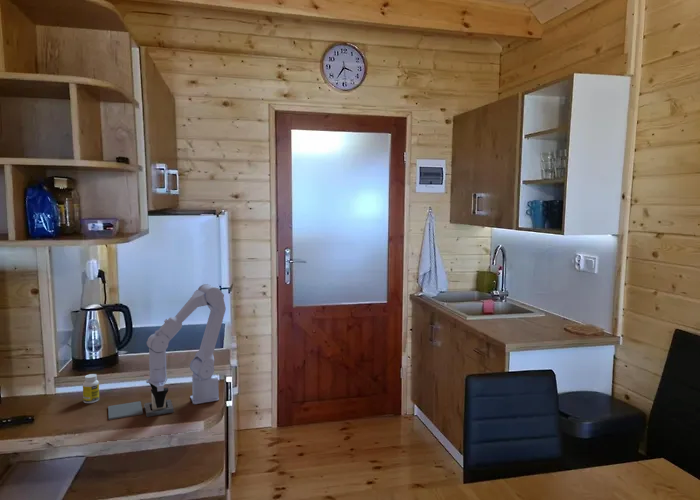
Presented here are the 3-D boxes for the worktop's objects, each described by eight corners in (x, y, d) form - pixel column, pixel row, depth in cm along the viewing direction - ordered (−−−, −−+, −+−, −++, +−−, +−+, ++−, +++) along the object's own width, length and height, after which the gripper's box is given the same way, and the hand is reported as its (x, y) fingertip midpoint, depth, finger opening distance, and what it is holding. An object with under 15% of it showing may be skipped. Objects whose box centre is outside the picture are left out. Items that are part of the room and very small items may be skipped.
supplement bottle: (92, 404, 184) (91, 378, 183) (80, 402, 185) (78, 377, 184) (102, 398, 189) (101, 373, 188) (90, 397, 190) (89, 372, 189)
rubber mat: (140, 402, 186) (140, 401, 186) (143, 414, 176) (142, 412, 176) (108, 407, 181) (108, 406, 181) (108, 419, 171) (108, 418, 171)
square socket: (170, 402, 186) (170, 399, 186) (173, 412, 178) (173, 408, 178) (144, 407, 182) (144, 403, 182) (146, 417, 174) (146, 412, 174)
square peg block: (164, 406, 183) (164, 388, 182) (166, 411, 179) (165, 392, 178) (151, 408, 181) (151, 390, 180) (153, 413, 177) (152, 394, 176)
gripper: (144, 362, 183) (145, 397, 184) (147, 375, 170) (148, 413, 172) (164, 360, 186) (165, 394, 188) (169, 372, 173) (170, 409, 175)
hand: (158, 403), depth 180 cm, fingers open, 7 cm apart
